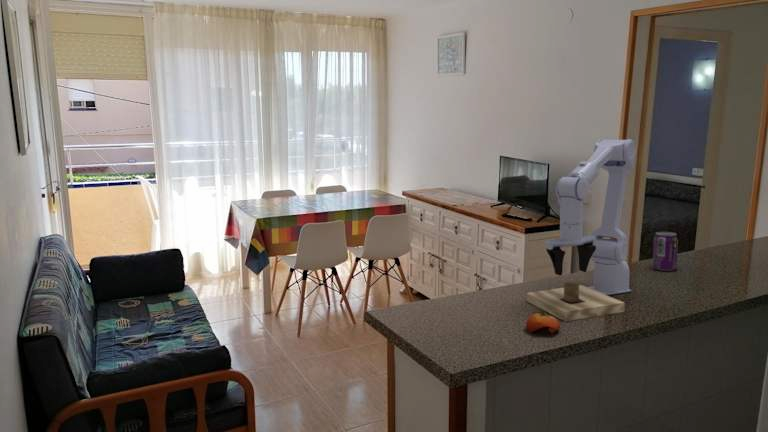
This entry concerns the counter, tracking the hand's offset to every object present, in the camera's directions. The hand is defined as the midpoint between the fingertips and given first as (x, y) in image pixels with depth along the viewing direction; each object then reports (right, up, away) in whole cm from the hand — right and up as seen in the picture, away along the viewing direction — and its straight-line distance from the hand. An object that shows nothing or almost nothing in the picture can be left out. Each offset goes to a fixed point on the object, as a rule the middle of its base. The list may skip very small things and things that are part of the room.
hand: (570, 272), depth 153 cm
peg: (0, -10, +1) cm, 10 cm away
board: (+2, -9, +3) cm, 10 cm away
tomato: (-11, -13, -14) cm, 22 cm away
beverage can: (+43, -3, +36) cm, 56 cm away
